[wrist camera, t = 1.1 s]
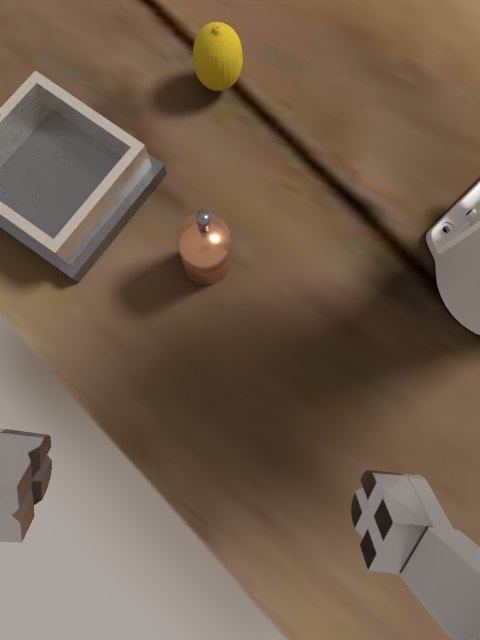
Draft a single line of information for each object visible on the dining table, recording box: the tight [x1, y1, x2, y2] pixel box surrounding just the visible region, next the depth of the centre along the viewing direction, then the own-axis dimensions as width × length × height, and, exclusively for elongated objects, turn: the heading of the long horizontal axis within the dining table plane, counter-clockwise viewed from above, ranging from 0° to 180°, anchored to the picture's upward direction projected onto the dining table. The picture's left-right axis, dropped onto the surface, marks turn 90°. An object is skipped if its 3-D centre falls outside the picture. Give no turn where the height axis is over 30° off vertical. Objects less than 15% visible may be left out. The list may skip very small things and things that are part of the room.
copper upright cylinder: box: [176, 210, 230, 285], centre depth 41 cm, size 5×5×10 cm
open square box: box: [0, 71, 167, 283], centre depth 43 cm, size 16×16×6 cm
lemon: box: [193, 22, 243, 91], centre depth 45 cm, size 6×6×8 cm
